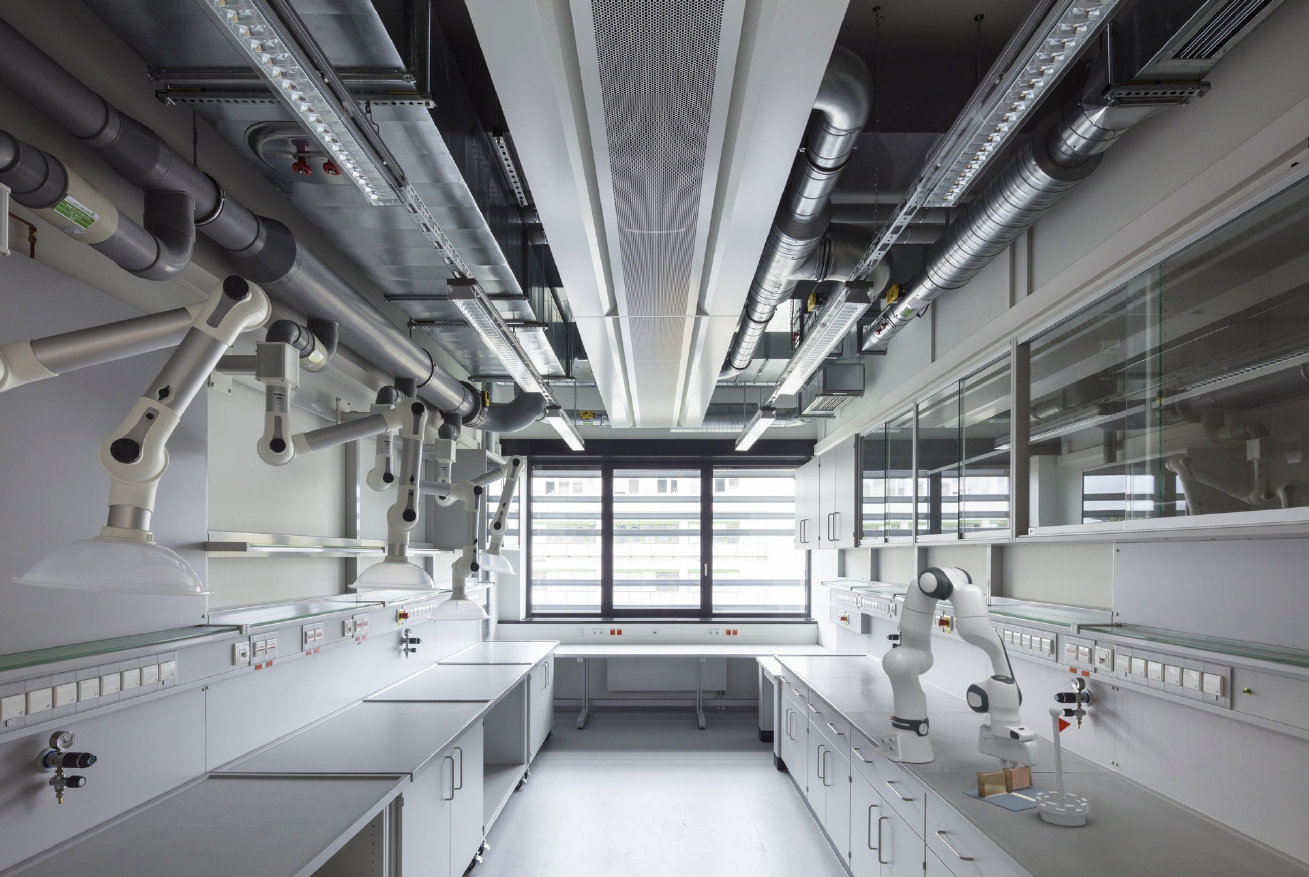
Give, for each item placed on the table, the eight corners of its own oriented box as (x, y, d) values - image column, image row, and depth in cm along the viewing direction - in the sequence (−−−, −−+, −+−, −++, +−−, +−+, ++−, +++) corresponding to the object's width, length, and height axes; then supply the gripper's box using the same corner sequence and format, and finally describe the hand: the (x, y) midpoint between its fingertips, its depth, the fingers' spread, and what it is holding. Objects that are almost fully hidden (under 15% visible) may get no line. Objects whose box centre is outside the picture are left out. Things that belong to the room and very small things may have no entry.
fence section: (1008, 788, 241) (1007, 767, 241) (1028, 784, 244) (1027, 764, 245) (1013, 789, 239) (1012, 769, 240) (1033, 785, 243) (1032, 765, 244)
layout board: (962, 792, 239) (962, 791, 239) (1016, 782, 249) (1016, 781, 249) (1015, 811, 222) (1015, 810, 222) (1070, 799, 232) (1070, 798, 232)
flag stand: (1061, 829, 208) (1052, 712, 212) (1026, 813, 221) (1018, 703, 225) (1101, 824, 212) (1091, 709, 216) (1064, 809, 224) (1056, 700, 228)
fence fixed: (976, 795, 235) (975, 772, 236) (1007, 789, 241) (1005, 767, 242) (982, 797, 233) (981, 774, 234) (1013, 791, 239) (1011, 769, 240)
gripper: (972, 723, 257) (975, 767, 255) (1026, 736, 239) (1029, 784, 237) (986, 721, 260) (989, 765, 258) (1040, 734, 242) (1043, 781, 240)
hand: (1009, 774), depth 247 cm, fingers closed
